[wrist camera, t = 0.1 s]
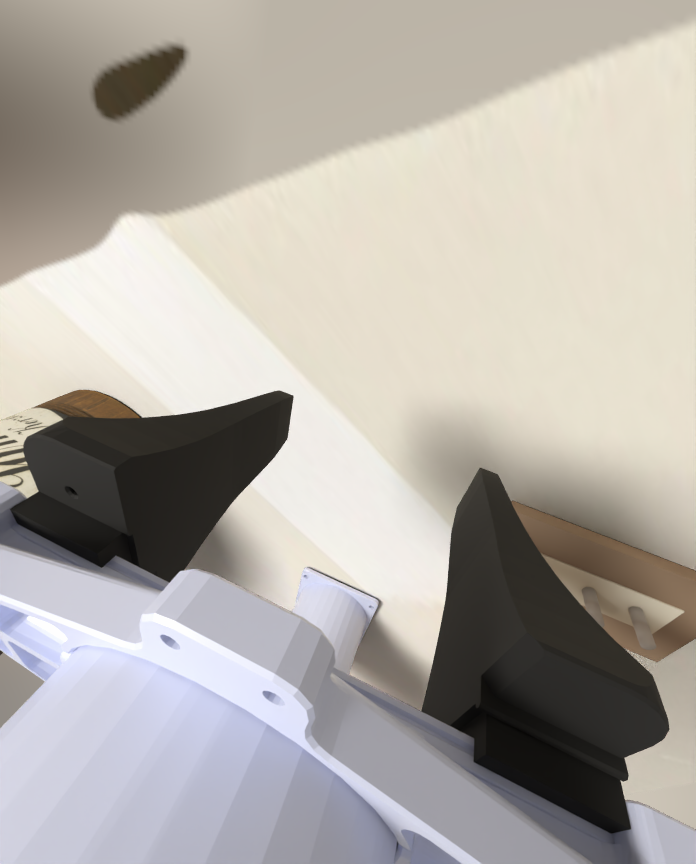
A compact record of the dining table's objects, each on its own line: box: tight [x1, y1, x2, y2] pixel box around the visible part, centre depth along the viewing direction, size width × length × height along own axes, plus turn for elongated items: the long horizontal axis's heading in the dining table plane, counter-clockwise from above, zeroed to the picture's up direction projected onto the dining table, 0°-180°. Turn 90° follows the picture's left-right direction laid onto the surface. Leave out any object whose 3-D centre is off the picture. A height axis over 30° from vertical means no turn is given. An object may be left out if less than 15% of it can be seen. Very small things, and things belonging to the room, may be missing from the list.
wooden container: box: [0, 390, 140, 655], centre depth 28 cm, size 15×15×22 cm
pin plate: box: [511, 501, 696, 662], centre depth 23 cm, size 8×14×4 cm, turn 78°
